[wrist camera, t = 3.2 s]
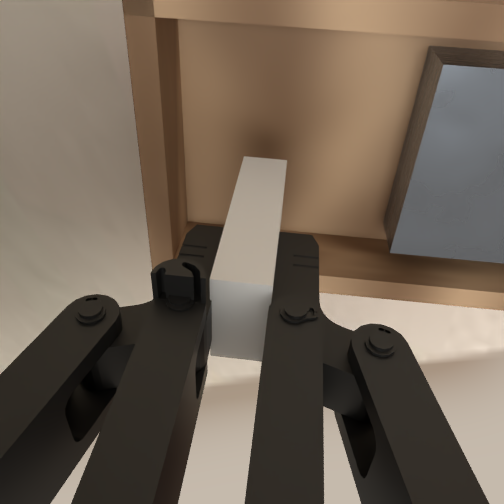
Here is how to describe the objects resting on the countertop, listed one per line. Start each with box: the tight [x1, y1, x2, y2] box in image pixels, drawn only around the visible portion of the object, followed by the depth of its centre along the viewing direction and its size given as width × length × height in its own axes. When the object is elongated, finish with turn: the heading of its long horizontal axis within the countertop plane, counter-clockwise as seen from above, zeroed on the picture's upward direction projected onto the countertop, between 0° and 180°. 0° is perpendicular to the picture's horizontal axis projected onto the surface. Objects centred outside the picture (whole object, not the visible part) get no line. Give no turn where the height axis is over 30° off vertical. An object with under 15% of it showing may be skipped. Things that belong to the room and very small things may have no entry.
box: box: [122, 0, 504, 310], centre depth 19 cm, size 22×12×4 cm, turn 87°
